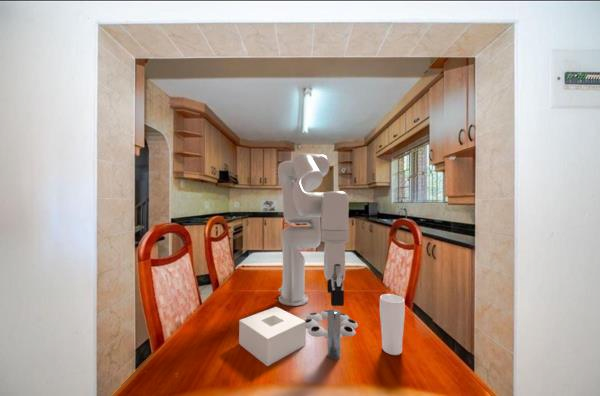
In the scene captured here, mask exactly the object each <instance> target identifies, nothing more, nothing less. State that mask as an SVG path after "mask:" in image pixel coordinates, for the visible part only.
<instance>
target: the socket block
mask: <svg viewBox="0 0 600 396" xmlns="http://www.w3.org/2000/svg"><path fill="white" fill-rule="evenodd" d="M304 320H305V319H302V318H301V317H298V316H296V315H295V314H292V313H290V312H289V311H285V310H284V309H282V308H280V307H279V306H278V307H277V306H274V307H271V308H269V309H266V310H263V311H260V312H257V313H255V314H252V315H250V316H247V317H245V318H241V319H239V322H238V323H239V325H238V326H239V328H238V329H239V331H238V332H239V333H238V335H239V336H238V344H239V345H240V346H241V347H243V348H244V349H245V350H246V351H247V352H249V353H250V354H252V356H254V357H255V358H256V359H257V360H259V361H260V362H261V363H263V364H264V365H265V366H267V367H269V366H271V365H273V364H274V363H276V362H278V361H280V360H282V359H283V358H285V357H286V356H289V355H291V354H292V353H294V352H296V351H297V350H299V349H301V348H303V347H304V346H305V345H306V342H307V341H306V340H307V339H306V337H307V336H306V335H307V330H306V329H307V328H306V323H307V321H304Z"/></svg>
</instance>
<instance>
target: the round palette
mask: <svg viewBox="0 0 600 396" xmlns="http://www.w3.org/2000/svg"><path fill="white" fill-rule="evenodd" d="M328 310H329V309H328ZM328 310H322V311H321V312H320V313H318V312H311V313H309V314H308V315H307V316H306V319H303V320H304V321H306V329H308V330H307V333H308V334H309V335H310V336H312V337H315V338H316V337H324V338H326V339H327V329H326V330H325V328H324V327H322V326H321V325H319V323H318V322H321V321H323V319H325V320H328ZM358 327H359V324H358V323H357V321H356V320H354V319H353V318H350V317H349V315H347V313H344V312H341V338H342V337H346V338H347V337H353V336H355V335H356V334H357V331H355V329H356V328H358ZM313 328H315V329H316V328H318V330H316V331H314V330H312V329H313ZM345 328H349V329H351V330H352V331H347V330H346V329H345Z"/></svg>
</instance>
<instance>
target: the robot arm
mask: <svg viewBox="0 0 600 396" xmlns="http://www.w3.org/2000/svg"><path fill="white" fill-rule="evenodd" d="M329 171H330V160H329V159H328V157H327V156H326V155H325V154H323V153H321V154H320V153H310V152H309V153H307V152H302V153H298V154H296V155H294V157H293V158H292V160H284V161H282V162H280V163H279V165H278V169H277V178H278V182H279V185H280V188H281V191H282V208H283V209H282V210H283V211H282V212H283V218H284V219H283V220H284V221H285V223H287V224H307V226H301V225H300V226H288V227H285V228H283V229H282V230H281V233H280V240H281V241H280V243H281V248H282V285H281V286H280V287H279V288H278V289H277V291H278V292H280V293H281V294H280V295H279V296H278V302H279V303H280V304H282V305H284V306H290V307H298V306H302V305H305V304H307V303H308V302H309V297H308V295H307V294H305V288H306V287H305V285H306V284H305V283H306V280H305V277H306V275H305V272H306V271H305V269H306V265H305V263H306V261H305V260H306V259H305V256H304V255H303V253H302V252H301V251H300V250H301V249H316V248H318V247H319V246H320V245H321V242H323V243H324V247H323V248H324V251H323V274H324V277H325V279H326V282H327V283H326V284H327V285H326V286H327V293H329V294H330V305H331V306H332V307H344V305H345V289H344V282H343V281H344V280H345V279H346V278H345V277H346V248H345V244H346V243H349V240H350V239H349V237H350V236H349V235H350V234H349V194H348V193H347V192H345V191H340V190H339V191H335V190H334V191H325V192H324V191H323V192H320V191H314V190H316V189H318V188H319V187H320V186H321V184H322V183H323V179H324V178H323V177H326V175H327V174H328V173H329Z"/></svg>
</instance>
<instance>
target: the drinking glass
mask: <svg viewBox="0 0 600 396" xmlns="http://www.w3.org/2000/svg"><path fill="white" fill-rule="evenodd" d="M405 304H406V303H405V298H404V297H403V296H400V295H397V294H393V293H384V294H381V295H380V296H379V317H380V330H381V331H380V332H381V349H382V350H383V352H385V353H387V354H388V355H391V356H399V355H400V354H402V353H403V339H404V338H403V337H404V328H405V327H404V325H405V318H406V317H405V316H406V314H405V313H406V309H405V307H406V306H405Z"/></svg>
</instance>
